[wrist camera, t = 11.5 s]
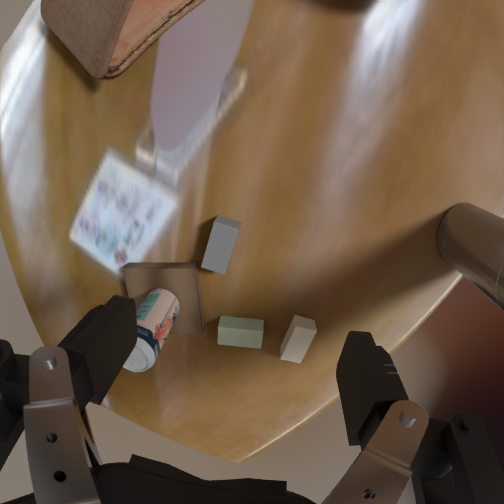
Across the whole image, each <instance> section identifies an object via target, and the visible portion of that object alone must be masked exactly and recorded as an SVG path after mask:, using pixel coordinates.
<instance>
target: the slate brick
mask: <svg viewBox="0 0 504 504" xmlns="http://www.w3.org/2000/svg"><path fill="white" fill-rule="evenodd" d="M240 226H241V222H238V221H235V220H231V219H228V218H225V217H222V216H219V215H218V216H217V218H216V219H215V221H214V224H213V227H212V231H211V234H210V237H209V241H208V244H207V248H206V251H205V255H204V258H203V262H202V265H201V267H202V268H205V269H208V270H211V271H214V272H217V273H220V274H223V275H225V273H226V269H227V266H228V263H229V260H230V257H231V254H232V251H233V248H234V245H235V242H236V239H237V235H238V232H239V229H240Z"/></svg>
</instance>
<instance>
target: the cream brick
mask: <svg viewBox="0 0 504 504" xmlns="http://www.w3.org/2000/svg"><path fill="white" fill-rule="evenodd" d="M316 332H317V329H316V325H315V320H313V319H309V318H305V317H301V316H298V315H294V317H293V319H292V322H291V324H290V326H289V328H288V331H287V333H286V335H285V337H284V339H283V342H282V344H281V346H280V359H283V360H287V361H291V362H296V363H301V361H302V359H303V357H304V356H305V354H306V352H307V350H308V348H309V346H310V344H311V342H312V340H313V338H314V336H315V334H316Z"/></svg>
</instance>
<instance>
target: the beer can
mask: <svg viewBox="0 0 504 504" xmlns="http://www.w3.org/2000/svg"><path fill="white" fill-rule="evenodd" d="M179 310H180V305H179V301H178V299H177V298H176V296H175V295H174V294H173V293H171V292H170V291H168V290H166V289H160V288H158V289H154V290H152V291H150V292H149V294H148V295H147V297H146V299H145V300H144V302H143V303H142V304H141V306H140V307H139V309H138V310H137V311H136V318H137V329H138V338H137V343H136V345H135V348H134V349H133V351H132V352H131V354H130V356H129V357H128V359H127V361H126V362H125V364H124V365H123V367H124V368H126V369H128V370H130V371H132V372H144V371H145V370H147V369H149V368H151V367H152V366H153V365H154V363H155V361H156V359H157V357H158V354H159V352H160V350H161V348H162V346H163V344H164V342H165V340H166V338H167V335H168V333H169V331H170V329H171V327H172V325H173V323H174V321H175V319H176V317H177V315H178V313H179Z"/></svg>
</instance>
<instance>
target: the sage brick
mask: <svg viewBox="0 0 504 504" xmlns="http://www.w3.org/2000/svg"><path fill="white" fill-rule="evenodd" d="M263 331H264V320H261V319H250V318H240V317H231V316H222V315H221V317H220V321H219V325H218V344H220V345H228V346H238V347H247V348H258V349H261V347H262V339H263Z"/></svg>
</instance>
